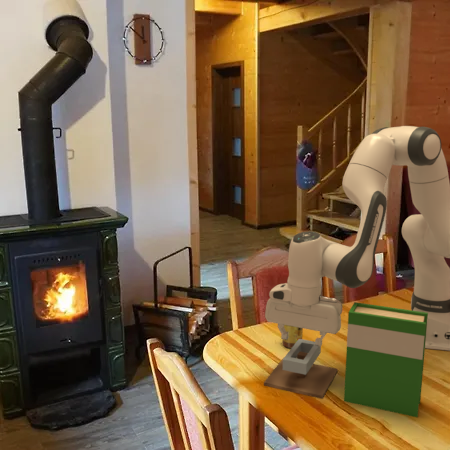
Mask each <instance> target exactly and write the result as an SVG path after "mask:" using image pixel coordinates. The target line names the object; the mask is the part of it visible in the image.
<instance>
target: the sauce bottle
mask: <svg viewBox="0 0 450 450" xmlns="http://www.w3.org/2000/svg"><path fill="white" fill-rule="evenodd" d="M284 328H285V330H286V332H289V334H288V339H287V340H285V339H281V340H282V343H281V344H282V346H284V347H286V348H288V349H291V348H292V347H293V346H294V344H295V343H296V342H297V341H298V339H303V331H304V330H303V329H304V328H299V327H294V326H288V325H284Z"/></svg>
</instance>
